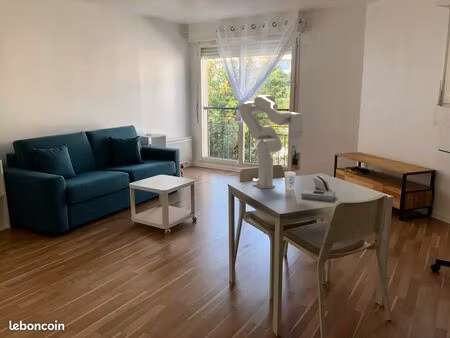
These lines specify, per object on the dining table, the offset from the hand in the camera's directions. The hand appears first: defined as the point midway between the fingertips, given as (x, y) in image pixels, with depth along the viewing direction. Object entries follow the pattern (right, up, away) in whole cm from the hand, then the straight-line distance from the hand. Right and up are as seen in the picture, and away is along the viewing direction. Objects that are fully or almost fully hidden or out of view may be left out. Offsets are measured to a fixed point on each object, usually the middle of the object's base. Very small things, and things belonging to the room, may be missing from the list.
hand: (296, 163), depth 225 cm
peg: (0, -3, +1) cm, 3 cm away
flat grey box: (+13, -20, -2) cm, 24 cm away
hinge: (+20, -17, +15) cm, 30 cm away
